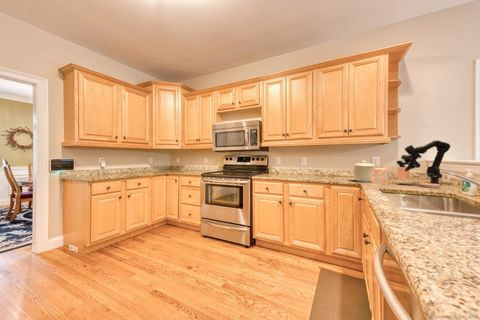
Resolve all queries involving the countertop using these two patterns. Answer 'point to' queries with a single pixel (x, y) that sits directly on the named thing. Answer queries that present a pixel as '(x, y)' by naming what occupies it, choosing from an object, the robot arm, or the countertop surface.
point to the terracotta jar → (403, 173)
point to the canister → (363, 172)
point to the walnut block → (429, 185)
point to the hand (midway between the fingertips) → (402, 170)
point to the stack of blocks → (380, 174)
